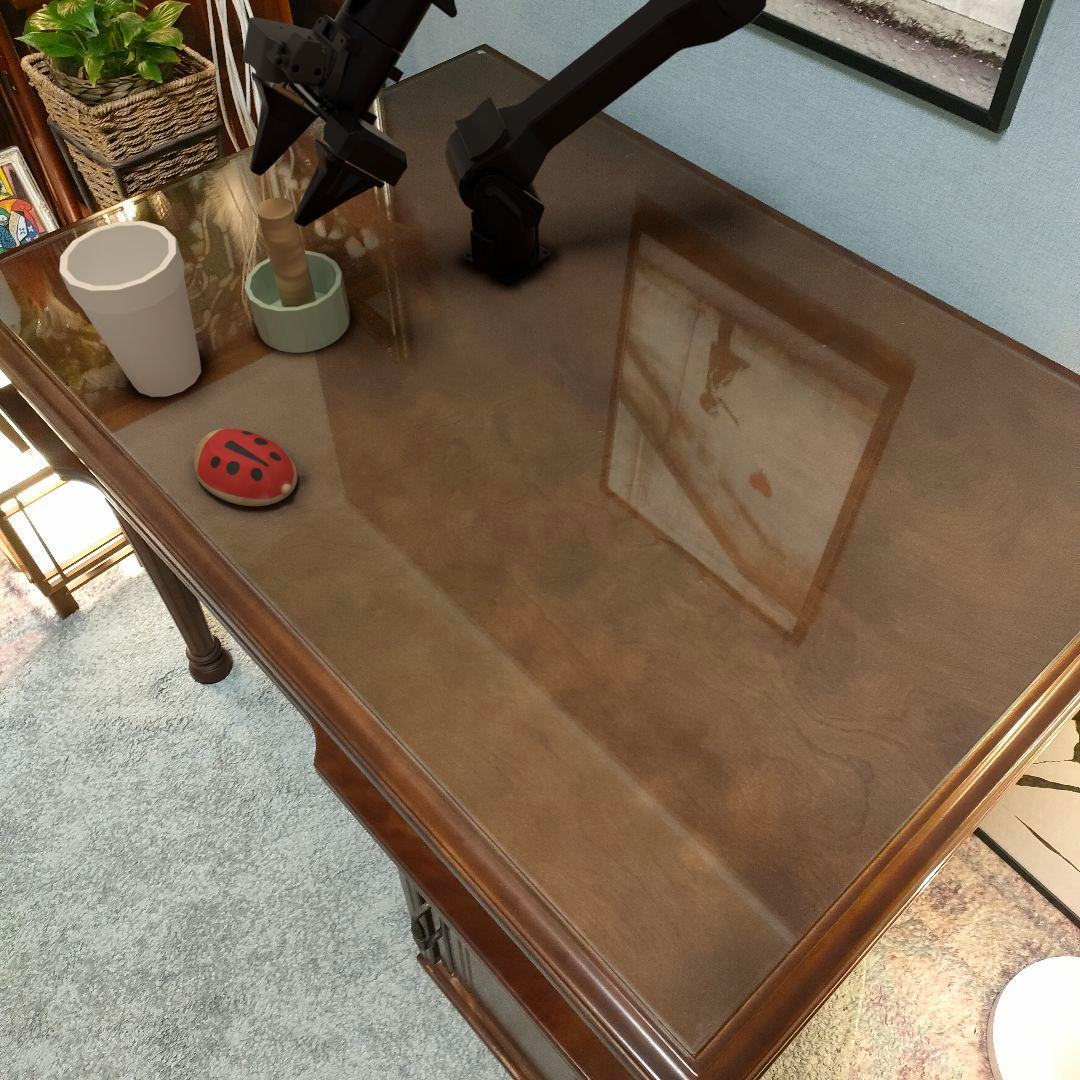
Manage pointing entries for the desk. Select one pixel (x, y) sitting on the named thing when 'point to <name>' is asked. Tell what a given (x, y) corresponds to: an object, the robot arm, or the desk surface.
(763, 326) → the desk surface
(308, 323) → the celadon cup
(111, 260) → the foam cup
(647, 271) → the desk surface
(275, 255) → the pestle
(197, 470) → the ladybug figurine
